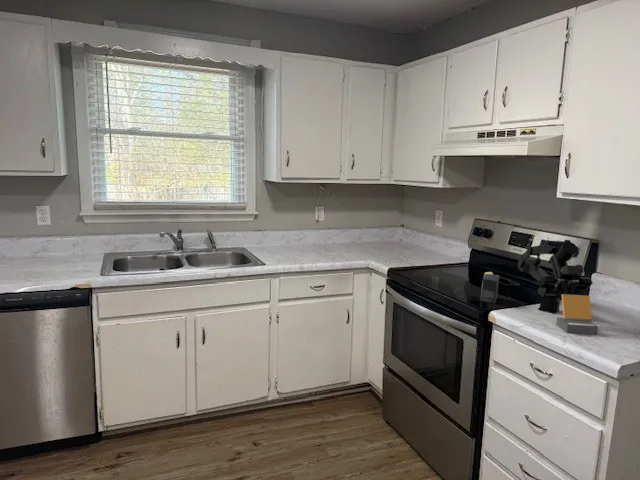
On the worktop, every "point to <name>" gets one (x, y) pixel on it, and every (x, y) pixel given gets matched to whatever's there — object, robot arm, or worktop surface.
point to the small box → (490, 288)
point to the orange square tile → (576, 308)
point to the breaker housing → (577, 326)
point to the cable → (504, 278)
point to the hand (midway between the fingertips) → (570, 302)
